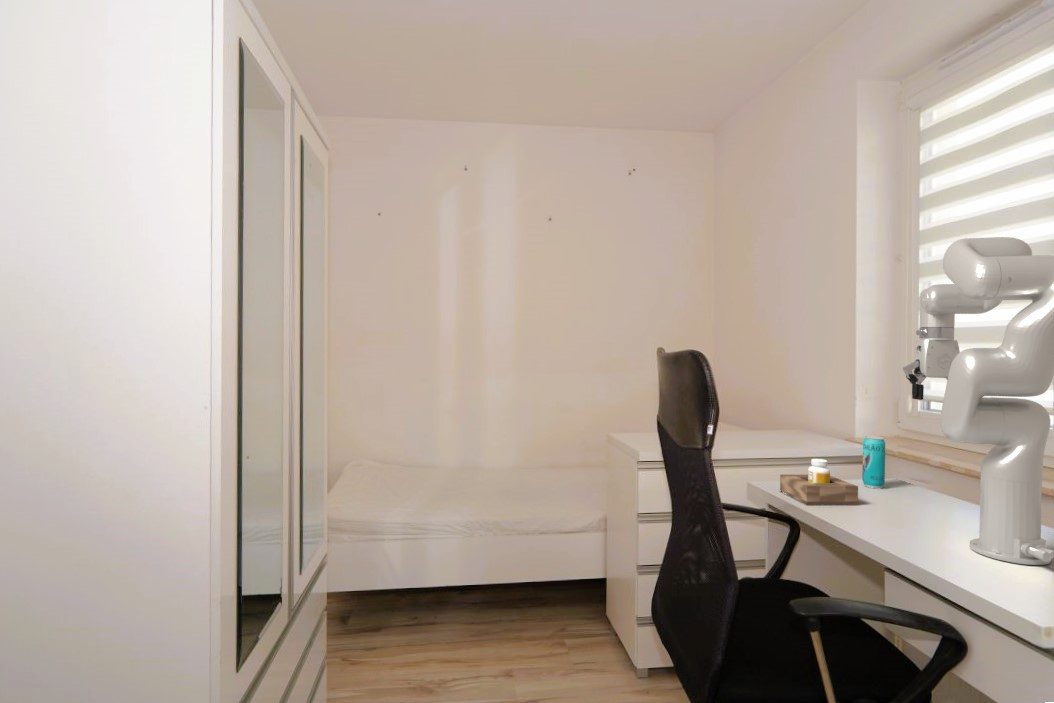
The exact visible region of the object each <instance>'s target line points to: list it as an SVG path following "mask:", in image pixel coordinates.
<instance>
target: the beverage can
mask: <svg viewBox="0 0 1054 703" xmlns="http://www.w3.org/2000/svg"><path fill="white" fill-rule="evenodd" d="M863 438H864V439H863V441H862V476H861V477H862V479H861V480H862V483H863V485H864V487H866V486H867V487H866V488H868V487H873V488H872V489H875V488H881V489H883V487H884V485H885V482H886V481H885V479H886V478H885V477H886V475H885V474H886V441H885V437H882V436H876V435H865V436H864V437H863Z"/></svg>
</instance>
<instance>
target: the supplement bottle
mask: <svg viewBox="0 0 1054 703" xmlns="http://www.w3.org/2000/svg"><path fill="white" fill-rule="evenodd" d="M810 460H811V461H810V464H811V466H809V467H808V469H807V470H808V471H807V472H808V474H807V475H808V482H811V483H830V476H831V470H830V469H829V468H828V464H829V461H828V460H827V459H823V458H811V459H810Z"/></svg>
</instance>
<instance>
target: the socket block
mask: <svg viewBox="0 0 1054 703" xmlns="http://www.w3.org/2000/svg"><path fill="white" fill-rule="evenodd" d="M779 476H780V477H779V478H780V479H779V480H780V481H779V491H780V490H781V491H782V492H784V493H786V494H787V495H789V496H791V497H793V498H795V499H796V500H795V499H794V500H795V501H797V500H798V501H797V502H799V501H800V502H799V503H801V502H802V503H801V504H803V503H804V505H805V504H806V505H805V506H858V505H859V486H858V485H855V484H853V483H850V482H848V481H845V480H842V479H840V478H837V477H835V476H832V475H830V483H811V482H808V474H780V475H779ZM787 495H786V496H787ZM789 496H788V497H789ZM791 497H790V498H791ZM793 498H792V499H793Z"/></svg>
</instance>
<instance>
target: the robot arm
mask: <svg viewBox="0 0 1054 703" xmlns="http://www.w3.org/2000/svg"><path fill="white" fill-rule="evenodd" d="M942 258H943V259H942V269H943V272H944V273H945V275H946V277H947V278H948V279H949V281H951V282H952V283H951V284H950V283H949V284H948V283H946V284H945V283H943V284H940V283H939V284H933V285H930V286H929V287H928V288H925V289H922V290H921V292H920V295H919V329H918V330H916V332H915V334H916V336H918V337H919V338H918V339H917V341H916V344H915V348H914V353H913V362H911V363H908V364H907V365H905V366H903V368H902V370H903V372H904V376H905V378H906V379H907V380H908V381H909V384H911V399H913V400H919V401H921V400H924V389H925V388H924V384H922V383H923V382H924V381H925V379H927V378H932V379H933V378H935V379H936V378H938V379H939V378H941V379H946V380H947V381H946V386H945V391H944V397H943V401H942V404H941V405H942V406H941V410H940V418H939V419H940V429H941V432H942V434H943V436H944V437H946V439H948V440H950V441H952V442H955V443H963V444H975V445H976V444H977V445H991V446H993V447H992V448H991V449H990V450H989V451H988V452H987V453H986V455H985V456H984V457H983V458H982V461H981V465H980V482H979V483H980V484H979V487H980V488H979V489H980V490H979V527H978V528H979V529H978V530H979V531H978V532H979V535H978V538H973V539H971V540H970V541H969V548H970V549H971V550H973V552H975V553H977V554H980V555H982V556H984V557H988V558H992V559H995V560H999V561H1003V562H1008V563H1012V564H1020V565H1028V566H1043V565H1044V566H1045V565H1049V564H1051V562H1052V560H1053V559H1054V549H1050V548H1046V545H1047V544H1046V542H1047V540H1046V539H1045V538H1042V537H1041V536H1042V535H1041V533H1042V499H1043V497H1042V496H1043V495H1042V494H1043V489H1042V488H1043V470H1044V469H1043V467H1044V457H1045V456H1044V455H1045V451H1046V450H1045V449H1046V446H1047V445H1046V444H1047V441H1048V437H1049V433H1050V429H1051V416H1050V414H1049V412H1048V410H1047V409H1046V408H1045V406H1043V405H1042V404H1040V403H1039V402H1036V401H1034V400H1031V399H1026V398H1025V397H1029V398H1030V397H1031V398H1032V397H1037V396H1041V395H1044V394H1045V393H1046V392H1047V391H1048V390H1049V388H1050V387H1051V383H1052V381H1053V379H1054V255H1045V254H1042V255H1034V254H1033V250H1032V248H1031V247H1030V245H1029V244H1028V243H1027V242H1026V241H1024V240H1022V239H1020V238H1018V237H1017V238H1015V237H1008V236H1005V237H1004V236H999V237H998V236H997V237H970V238H966V237H965V238H961V239H958V240H956V241H954V242H952V243H951V244H950V245H949V246H948V247H947V248H946V250H945V252H944V254H943V257H942ZM1003 301H1031V303H1030V304H1028V305H1027V306H1025V307H1024V308H1022V309H1021V310H1020V311H1018V313H1016V315H1015V316H1014V317H1012V319H1010V320H1009V322H1008V324H1007V325H1006V327H1005V331H1004V335H1003V340H1002V342H1001V345H999V346H998V347H973V348H972V347H971V348H966V349H963V350H961V351H960V346H959V342H958V340H956V339H955V323H956V322H955V315H980V314H985V313H987V312H990V311H992V310H993V309H996V308H997V307H998V306H999V305H1001V304H1002V302H1003ZM1019 397H1021V398H1019ZM1022 397H1023V398H1022Z"/></svg>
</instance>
